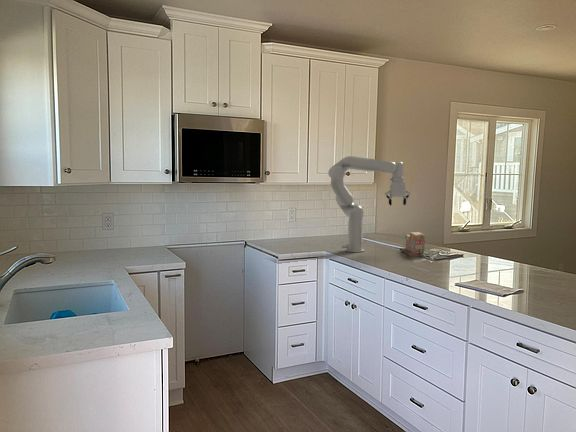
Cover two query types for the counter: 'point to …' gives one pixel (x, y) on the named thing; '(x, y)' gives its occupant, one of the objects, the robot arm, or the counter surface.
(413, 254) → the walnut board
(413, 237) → the cardboard product box
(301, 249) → the counter surface
